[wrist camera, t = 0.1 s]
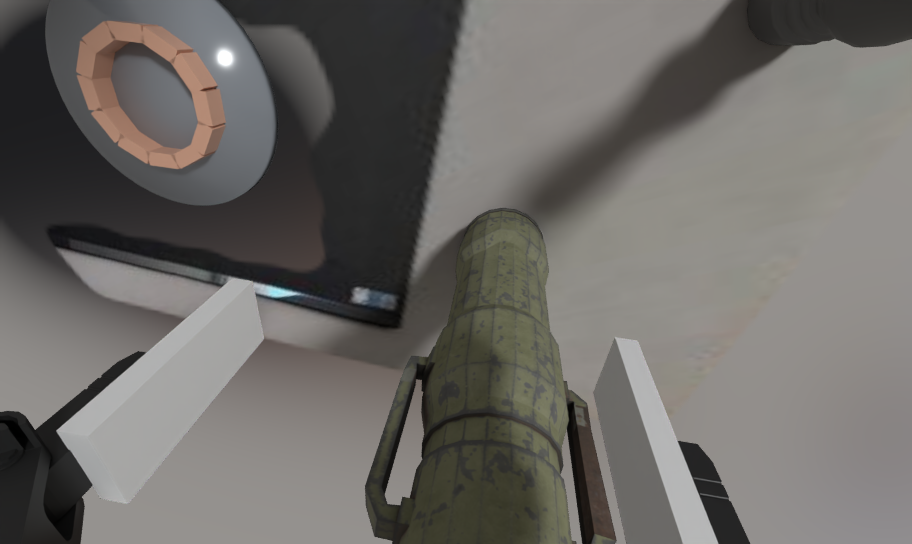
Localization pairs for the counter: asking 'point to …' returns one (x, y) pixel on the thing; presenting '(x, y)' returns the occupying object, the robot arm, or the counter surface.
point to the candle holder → (831, 21)
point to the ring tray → (166, 93)
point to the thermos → (493, 411)
